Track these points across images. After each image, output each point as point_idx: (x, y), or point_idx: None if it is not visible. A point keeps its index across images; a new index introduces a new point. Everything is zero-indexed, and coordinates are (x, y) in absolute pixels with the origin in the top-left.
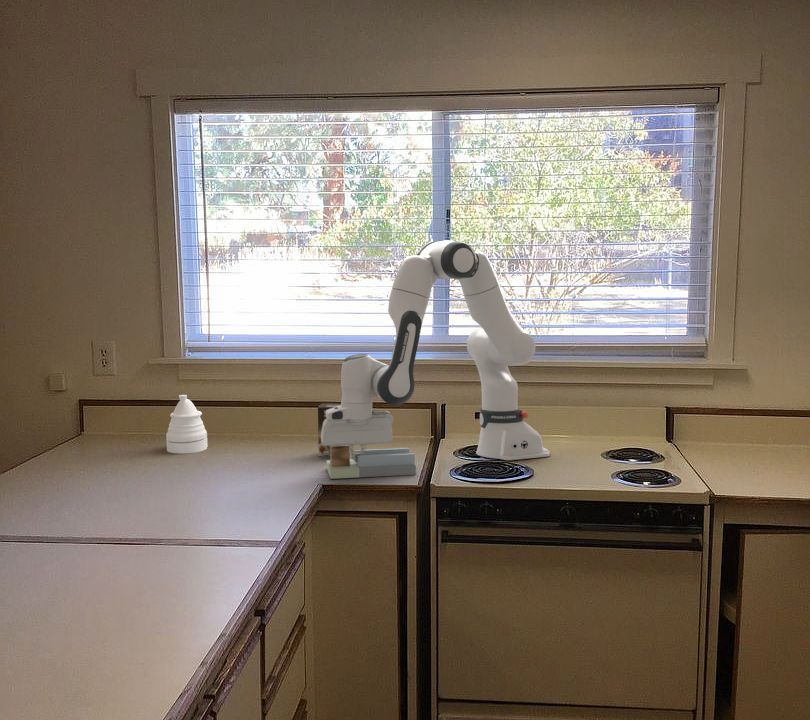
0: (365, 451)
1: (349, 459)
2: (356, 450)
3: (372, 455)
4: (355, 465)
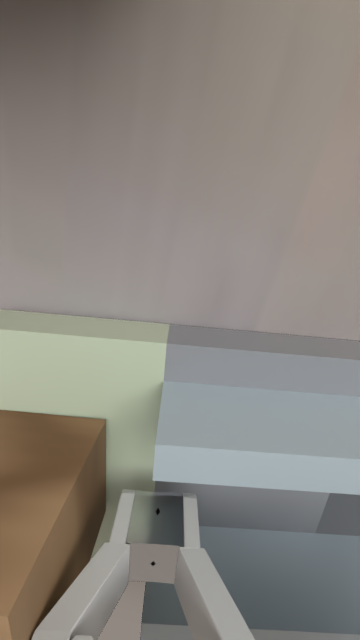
0: (262, 476)
1: (88, 559)
2: (174, 465)
3: (254, 636)
4: None
